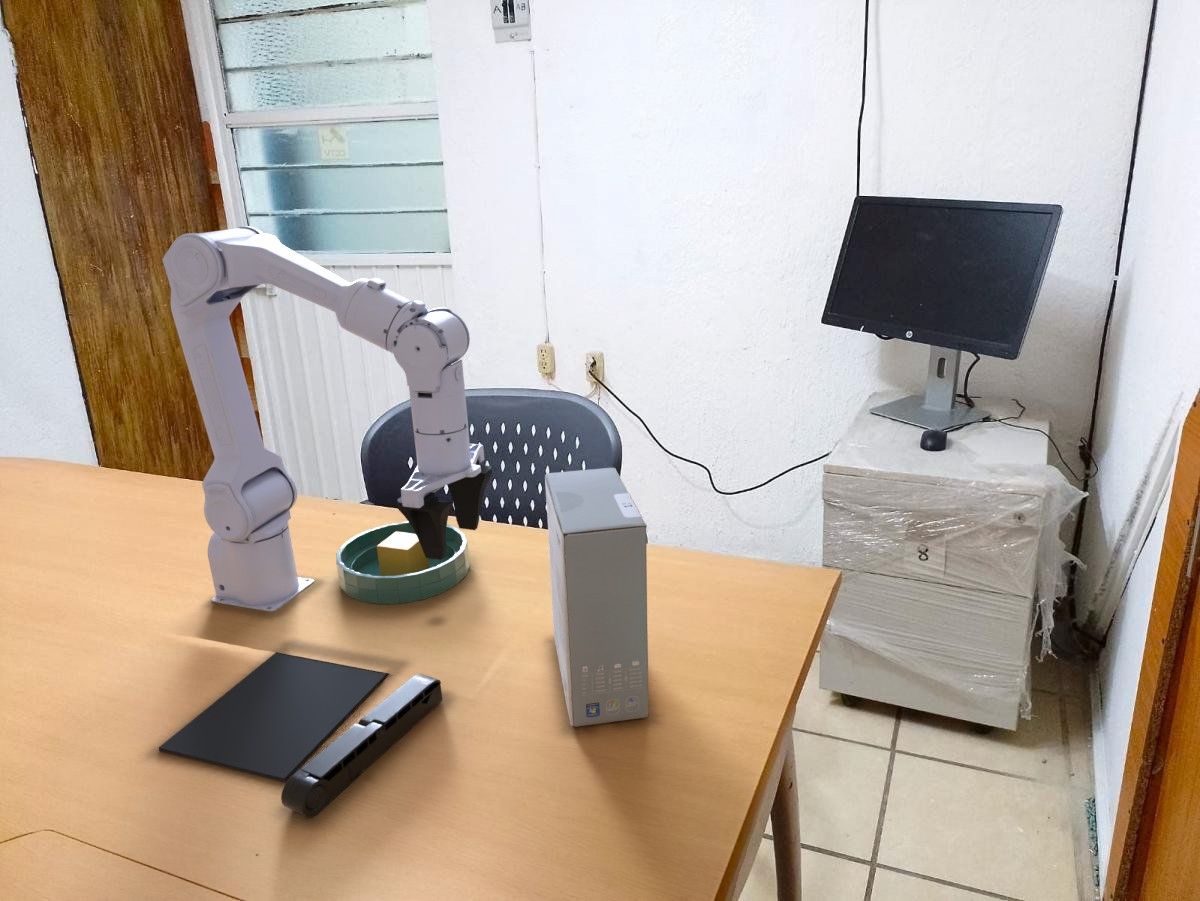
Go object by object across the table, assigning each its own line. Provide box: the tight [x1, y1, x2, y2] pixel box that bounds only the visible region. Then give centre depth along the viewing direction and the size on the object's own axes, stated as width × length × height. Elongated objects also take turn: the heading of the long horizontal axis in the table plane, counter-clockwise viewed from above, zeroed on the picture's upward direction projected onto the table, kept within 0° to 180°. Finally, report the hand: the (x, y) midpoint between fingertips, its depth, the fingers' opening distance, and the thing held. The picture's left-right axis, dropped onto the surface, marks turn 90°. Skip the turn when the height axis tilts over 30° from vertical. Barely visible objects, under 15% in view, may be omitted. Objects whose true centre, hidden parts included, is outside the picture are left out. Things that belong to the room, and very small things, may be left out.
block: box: [377, 531, 430, 576], centre depth 106 cm, size 4×4×4 cm
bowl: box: [335, 520, 471, 605], centre depth 106 cm, size 16×16×4 cm
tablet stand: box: [280, 673, 443, 818], centre depth 74 cm, size 18×3×3 cm, turn 152°
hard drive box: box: [544, 467, 649, 728], centre depth 81 cm, size 16×8×20 cm, turn 9°
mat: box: [158, 651, 390, 783], centre depth 82 cm, size 14×18×1 cm
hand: (452, 542), depth 92 cm, fingers open, 7 cm apart
